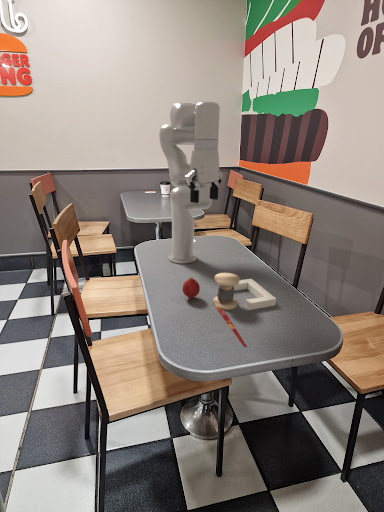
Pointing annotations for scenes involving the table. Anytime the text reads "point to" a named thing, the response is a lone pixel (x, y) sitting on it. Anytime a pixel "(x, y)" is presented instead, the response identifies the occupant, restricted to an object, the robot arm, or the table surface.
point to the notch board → (262, 295)
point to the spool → (226, 291)
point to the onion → (191, 288)
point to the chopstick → (230, 324)
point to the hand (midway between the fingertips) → (204, 200)
